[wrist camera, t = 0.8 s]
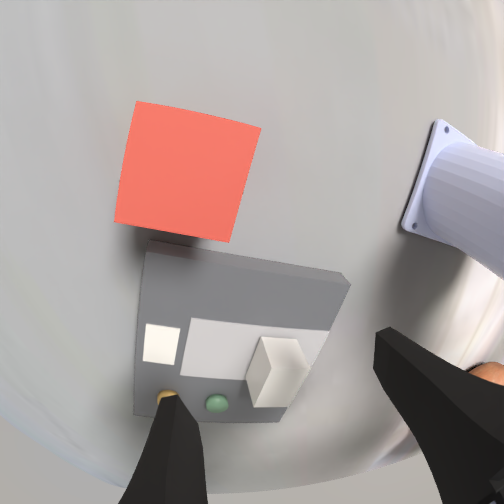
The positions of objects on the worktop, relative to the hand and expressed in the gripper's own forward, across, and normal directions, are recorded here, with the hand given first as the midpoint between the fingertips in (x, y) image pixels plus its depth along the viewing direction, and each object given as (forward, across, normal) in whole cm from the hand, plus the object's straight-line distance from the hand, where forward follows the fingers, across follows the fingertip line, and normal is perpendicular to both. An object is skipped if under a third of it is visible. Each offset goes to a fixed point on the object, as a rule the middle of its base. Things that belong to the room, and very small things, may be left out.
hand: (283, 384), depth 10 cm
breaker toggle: (+7, 0, +6) cm, 10 cm away
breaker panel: (+9, +3, +6) cm, 11 cm away
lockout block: (+9, +1, -7) cm, 12 cm away
